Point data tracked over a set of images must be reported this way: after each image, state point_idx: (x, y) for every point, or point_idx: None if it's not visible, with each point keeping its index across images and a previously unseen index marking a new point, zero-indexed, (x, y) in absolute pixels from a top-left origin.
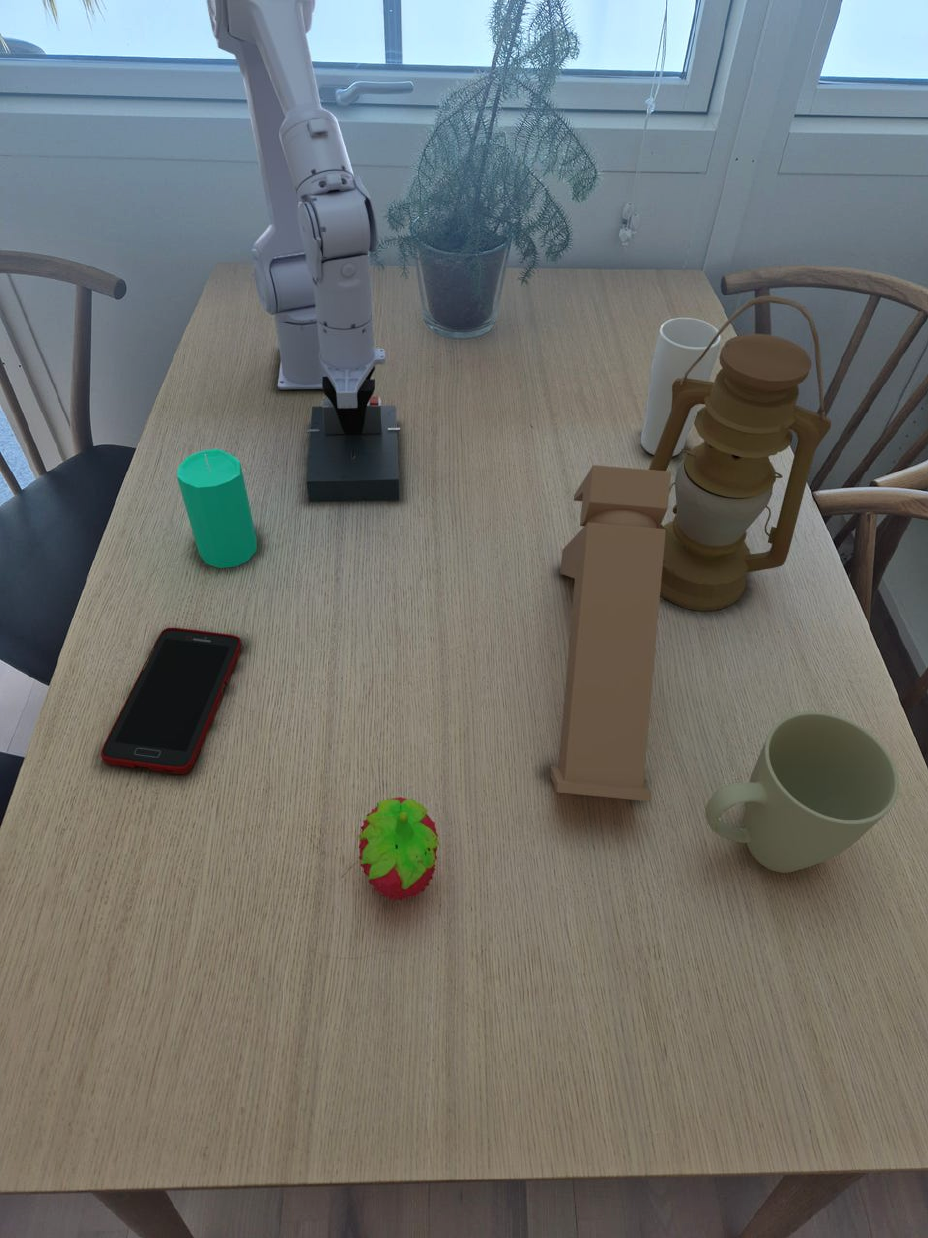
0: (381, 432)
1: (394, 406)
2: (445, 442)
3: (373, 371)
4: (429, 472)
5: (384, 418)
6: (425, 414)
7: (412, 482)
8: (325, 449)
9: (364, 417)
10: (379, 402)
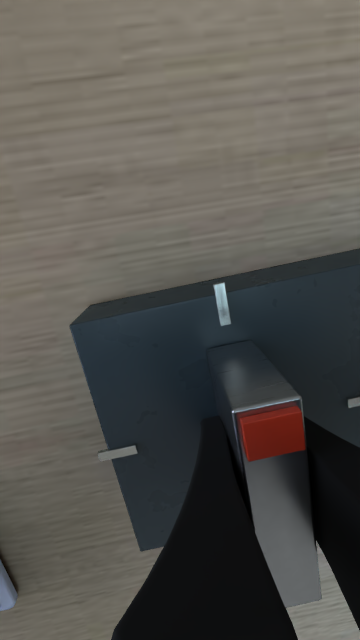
0: (251, 341)
1: (78, 328)
2: (138, 135)
3: (283, 606)
4: (293, 168)
5: (159, 348)
6: (2, 227)
7: (340, 213)
8: None
9: (330, 432)
10: (278, 405)
